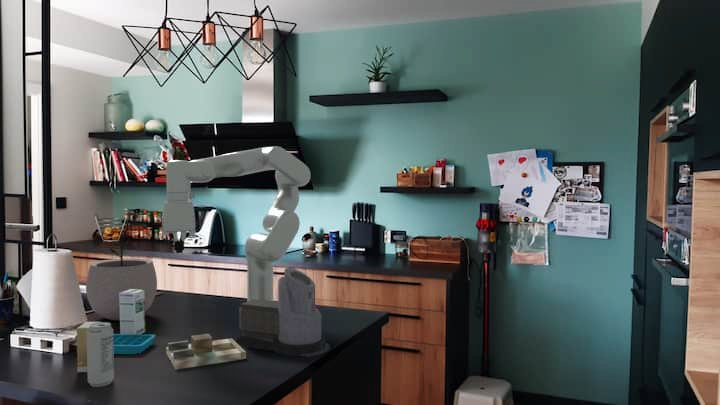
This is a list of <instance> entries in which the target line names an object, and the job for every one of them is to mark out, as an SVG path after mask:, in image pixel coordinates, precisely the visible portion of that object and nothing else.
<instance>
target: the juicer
mask: <svg viewBox="0 0 720 405" xmlns="http://www.w3.org/2000/svg"><path fill="white" fill-rule="evenodd" d="M277 288H278V289H277V301H276V300H273V301H267V300H257V299H253V300H250V301H248V302H247V301H246V302H243V303H241V304H240V307H238V309H239V310H238V311H239V312H238V313H239V314H238V316H239V320H238V321H239V324H238V328H239V329H240V330H241V331H242V332H241V333H242V334H241V335H240V336H239V337H237V339H235V340H234V341H235V342H236V343H237V344H238V345H239V346H240V347H245V348H253V349H259V350H267V351H273V352H275V353H277V354H280V355H283V356H293V357H294V356H295V357H296V356H297V357H307V358H308V357H314V356H319V355H322V354H324V353H326V352H328V351H329V350H330V347H331V346H330V344H329V343H327V342H326V336H325V335H323V334H322V314H321V312H320V310H319V309H318V308H317V307H316V284H315V282H314V281H313V279H312V278H311V277H310V276H308V275H307V274H306V273H305V272H303V271H300V270H298V269H297V268H294V267H293V268H292V267H287V268H284V275H283V276H282V277H280V278H278V280H277Z"/></svg>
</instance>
